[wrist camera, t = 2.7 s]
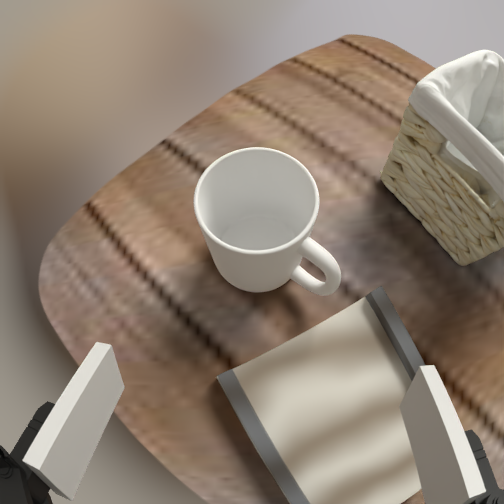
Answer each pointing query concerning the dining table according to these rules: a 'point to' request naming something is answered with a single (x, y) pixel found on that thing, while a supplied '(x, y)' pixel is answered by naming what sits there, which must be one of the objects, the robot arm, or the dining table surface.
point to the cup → (262, 221)
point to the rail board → (334, 408)
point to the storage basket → (454, 156)
